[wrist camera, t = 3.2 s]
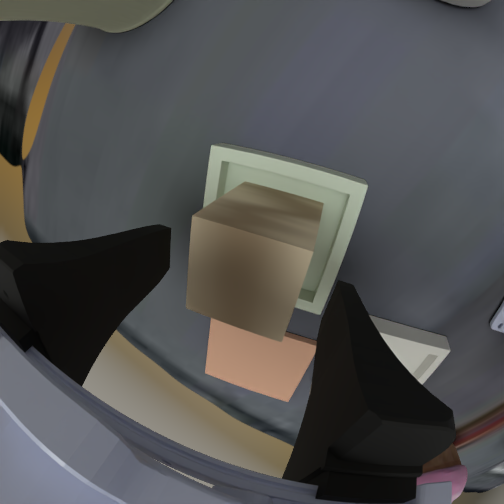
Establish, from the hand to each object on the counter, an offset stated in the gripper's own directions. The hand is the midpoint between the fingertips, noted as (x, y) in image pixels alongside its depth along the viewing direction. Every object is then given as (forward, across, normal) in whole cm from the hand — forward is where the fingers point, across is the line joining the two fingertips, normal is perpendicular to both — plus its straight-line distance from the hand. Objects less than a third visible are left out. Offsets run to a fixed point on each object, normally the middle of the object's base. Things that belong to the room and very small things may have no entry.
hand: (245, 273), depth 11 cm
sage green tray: (+6, 0, 0) cm, 6 cm away
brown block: (+5, 0, 0) cm, 5 cm away
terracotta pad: (+6, -1, +12) cm, 13 cm away
